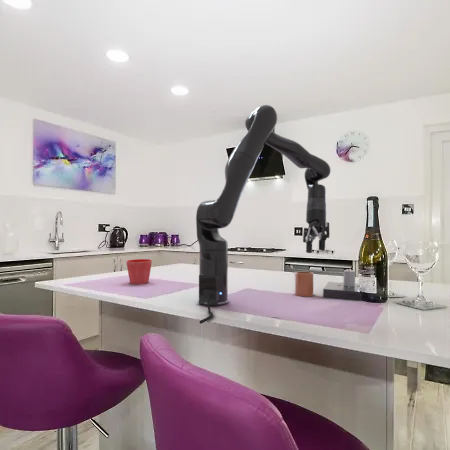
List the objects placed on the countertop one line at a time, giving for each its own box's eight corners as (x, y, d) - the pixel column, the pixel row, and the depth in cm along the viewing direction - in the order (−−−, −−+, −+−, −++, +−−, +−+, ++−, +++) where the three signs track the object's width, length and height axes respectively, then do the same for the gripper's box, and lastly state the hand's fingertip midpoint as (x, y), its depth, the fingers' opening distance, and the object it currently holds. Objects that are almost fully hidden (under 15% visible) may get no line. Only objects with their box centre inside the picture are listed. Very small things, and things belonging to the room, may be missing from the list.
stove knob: (354, 287, 119) (355, 270, 119) (343, 286, 120) (343, 270, 120) (355, 285, 123) (355, 269, 123) (343, 284, 124) (343, 268, 124)
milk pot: (311, 297, 116) (311, 274, 116) (293, 295, 118) (293, 273, 118) (314, 293, 122) (314, 272, 122) (296, 292, 124) (297, 271, 124)
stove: (360, 300, 111) (360, 291, 111) (323, 297, 115) (323, 288, 115) (361, 291, 125) (361, 283, 125) (328, 289, 130) (328, 281, 130)
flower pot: (126, 285, 137) (126, 262, 137) (126, 281, 148) (126, 259, 148) (152, 284, 140) (152, 261, 140) (151, 280, 150) (151, 258, 150)
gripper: (298, 213, 136) (296, 252, 132) (318, 204, 123) (317, 247, 119) (314, 216, 138) (313, 255, 134) (335, 208, 125) (335, 250, 121)
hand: (315, 251), depth 126 cm, fingers open, 8 cm apart
